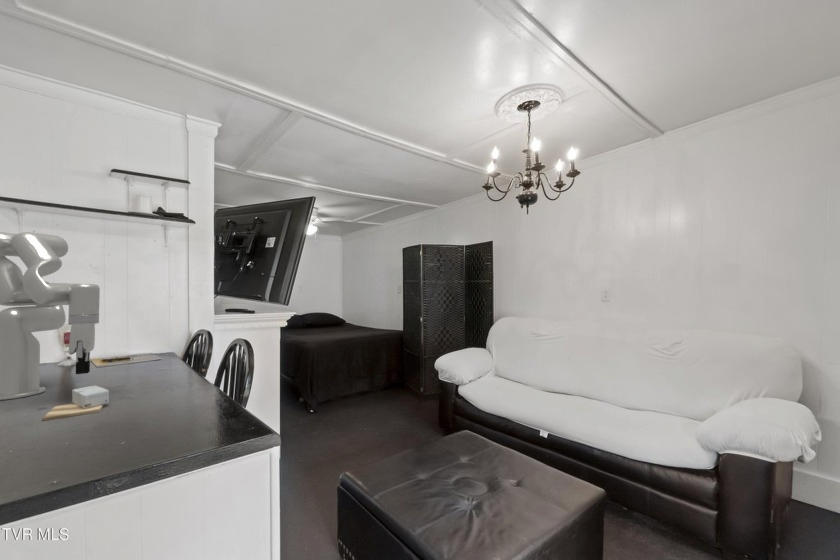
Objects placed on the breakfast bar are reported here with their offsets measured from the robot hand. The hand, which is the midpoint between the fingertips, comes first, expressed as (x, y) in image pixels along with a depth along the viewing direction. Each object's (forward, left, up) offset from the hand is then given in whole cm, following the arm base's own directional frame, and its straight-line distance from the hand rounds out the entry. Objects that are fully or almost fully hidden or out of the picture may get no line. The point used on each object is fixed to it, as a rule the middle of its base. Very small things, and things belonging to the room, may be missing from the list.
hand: (82, 373), depth 117 cm
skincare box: (+6, +1, -6) cm, 8 cm away
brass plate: (+14, +1, -9) cm, 17 cm away
